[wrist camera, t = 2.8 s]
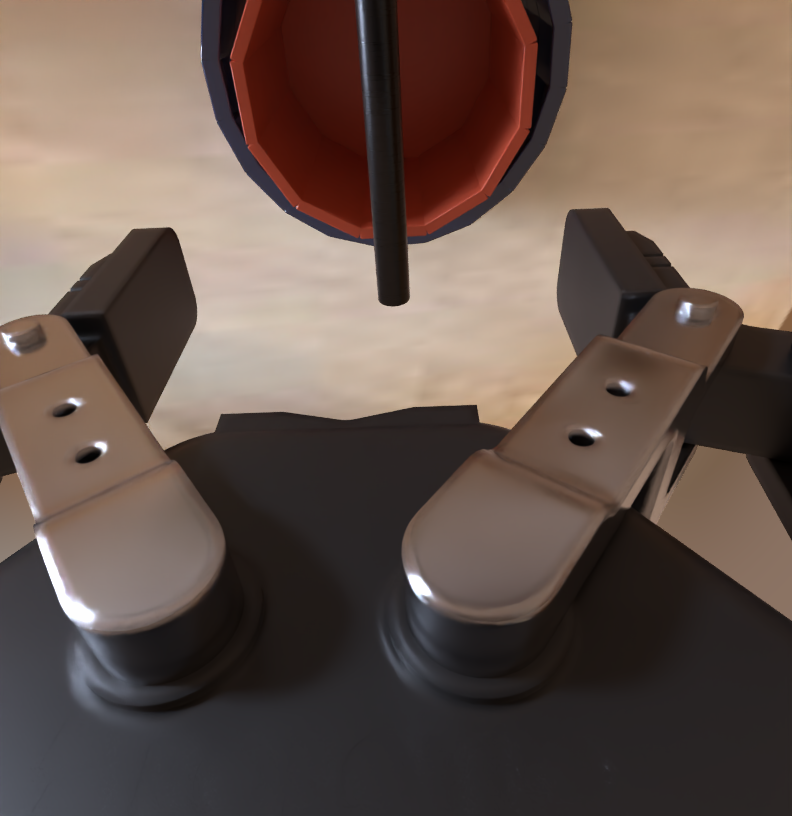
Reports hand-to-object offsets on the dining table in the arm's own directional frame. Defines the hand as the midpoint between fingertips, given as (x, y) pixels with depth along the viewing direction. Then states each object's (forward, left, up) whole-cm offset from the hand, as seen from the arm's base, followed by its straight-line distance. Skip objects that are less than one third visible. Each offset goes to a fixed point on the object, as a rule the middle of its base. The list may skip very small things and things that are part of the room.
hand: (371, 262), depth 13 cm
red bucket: (0, 0, -23) cm, 23 cm away
